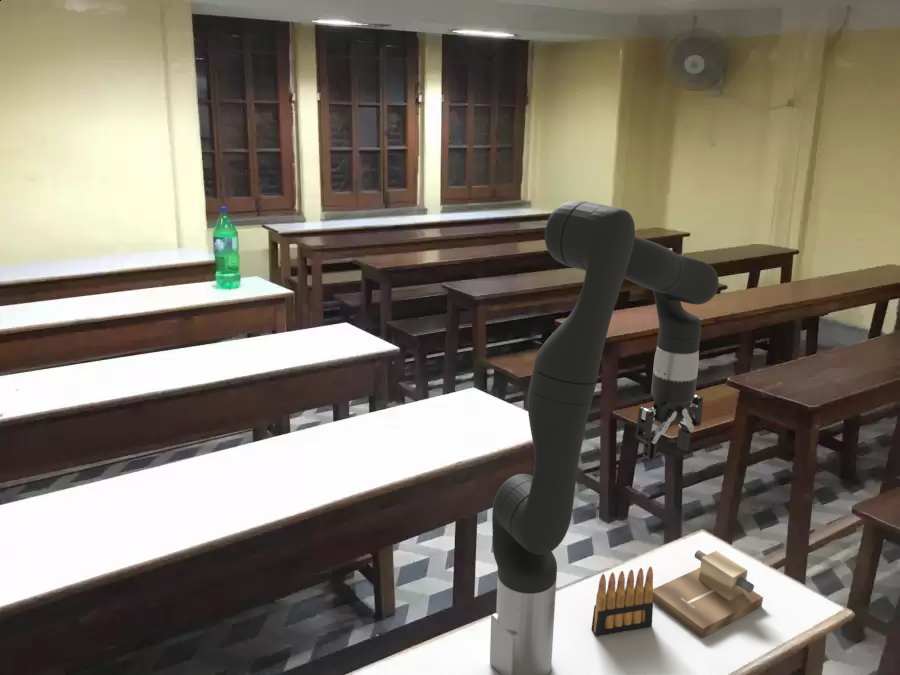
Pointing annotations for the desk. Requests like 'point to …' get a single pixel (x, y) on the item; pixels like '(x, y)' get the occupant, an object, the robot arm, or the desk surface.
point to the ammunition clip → (623, 604)
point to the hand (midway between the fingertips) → (666, 454)
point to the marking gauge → (723, 575)
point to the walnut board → (702, 604)
